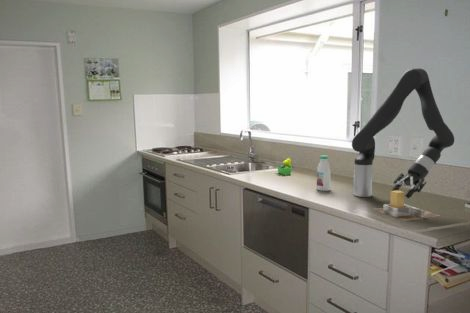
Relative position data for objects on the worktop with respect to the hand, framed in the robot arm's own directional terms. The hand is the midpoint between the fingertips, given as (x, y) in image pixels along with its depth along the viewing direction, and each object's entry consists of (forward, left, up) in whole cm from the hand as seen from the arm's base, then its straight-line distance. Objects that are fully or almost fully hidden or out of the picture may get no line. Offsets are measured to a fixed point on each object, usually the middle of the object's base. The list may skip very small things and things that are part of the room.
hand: (399, 194), depth 175 cm
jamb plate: (0, +4, -9) cm, 10 cm away
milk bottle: (-57, -3, -10) cm, 58 cm away
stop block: (0, -1, -8) cm, 9 cm away
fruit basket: (-110, -1, -10) cm, 110 cm away
